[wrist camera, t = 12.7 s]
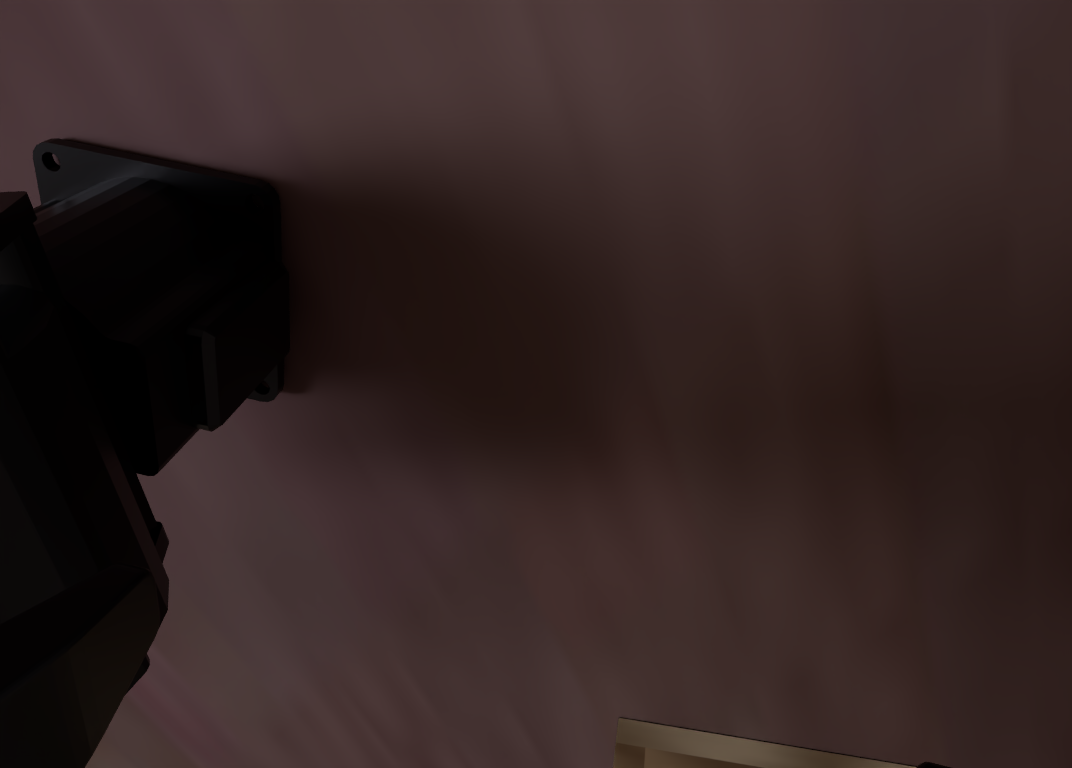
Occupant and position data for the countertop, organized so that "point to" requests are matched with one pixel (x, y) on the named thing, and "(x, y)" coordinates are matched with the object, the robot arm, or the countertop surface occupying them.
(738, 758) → the cream square tray
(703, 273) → the countertop surface
